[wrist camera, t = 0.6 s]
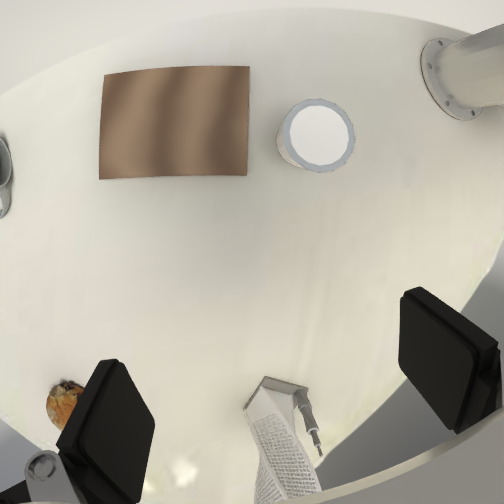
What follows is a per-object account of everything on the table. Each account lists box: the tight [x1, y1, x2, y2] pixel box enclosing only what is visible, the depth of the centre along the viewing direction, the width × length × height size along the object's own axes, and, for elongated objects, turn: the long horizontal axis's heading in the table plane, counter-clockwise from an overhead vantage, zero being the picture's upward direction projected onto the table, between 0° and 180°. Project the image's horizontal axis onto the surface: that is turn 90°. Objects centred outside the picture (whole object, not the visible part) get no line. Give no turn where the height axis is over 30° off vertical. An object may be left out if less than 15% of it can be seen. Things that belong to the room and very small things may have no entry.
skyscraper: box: [244, 376, 323, 504], centre depth 27 cm, size 8×8×28 cm
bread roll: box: [46, 383, 84, 431], centre depth 36 cm, size 10×10×8 cm
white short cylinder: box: [276, 99, 355, 173], centre depth 28 cm, size 7×7×7 cm
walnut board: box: [99, 66, 250, 180], centre depth 29 cm, size 16×12×2 cm
